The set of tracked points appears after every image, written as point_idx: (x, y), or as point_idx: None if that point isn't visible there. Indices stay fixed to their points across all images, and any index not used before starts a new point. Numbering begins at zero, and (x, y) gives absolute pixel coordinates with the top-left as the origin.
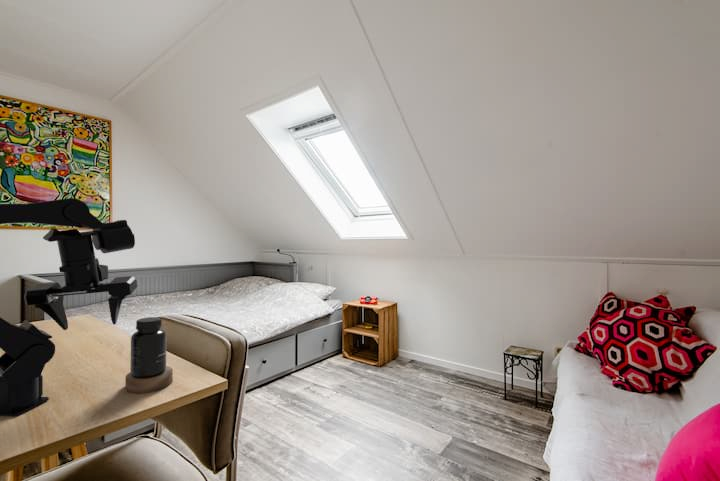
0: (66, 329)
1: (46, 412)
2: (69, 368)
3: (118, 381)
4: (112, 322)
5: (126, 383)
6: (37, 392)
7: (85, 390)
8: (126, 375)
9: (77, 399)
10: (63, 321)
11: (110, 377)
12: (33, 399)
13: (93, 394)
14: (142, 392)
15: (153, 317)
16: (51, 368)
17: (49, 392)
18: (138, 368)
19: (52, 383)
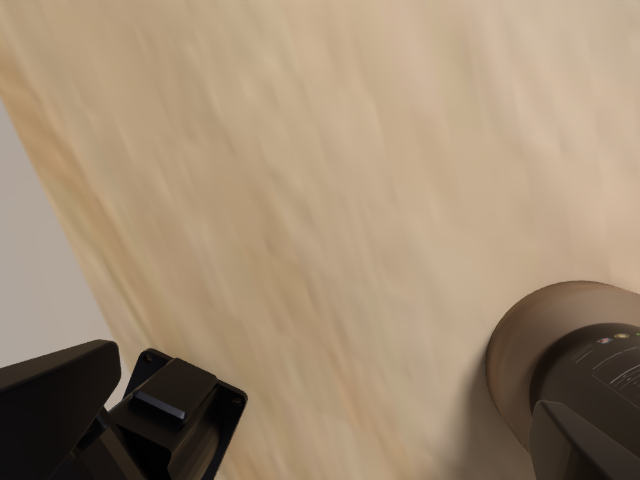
0: (120, 370)
1: None
2: (191, 54)
3: (441, 288)
4: (536, 474)
5: (506, 421)
6: (211, 442)
7: (340, 343)
8: (504, 385)
9: (339, 419)
10: (45, 449)
11: (397, 229)
12: (214, 453)
13: (380, 393)
14: None
15: None
16: (118, 32)
17: (221, 318)
18: None
19: (195, 226)
